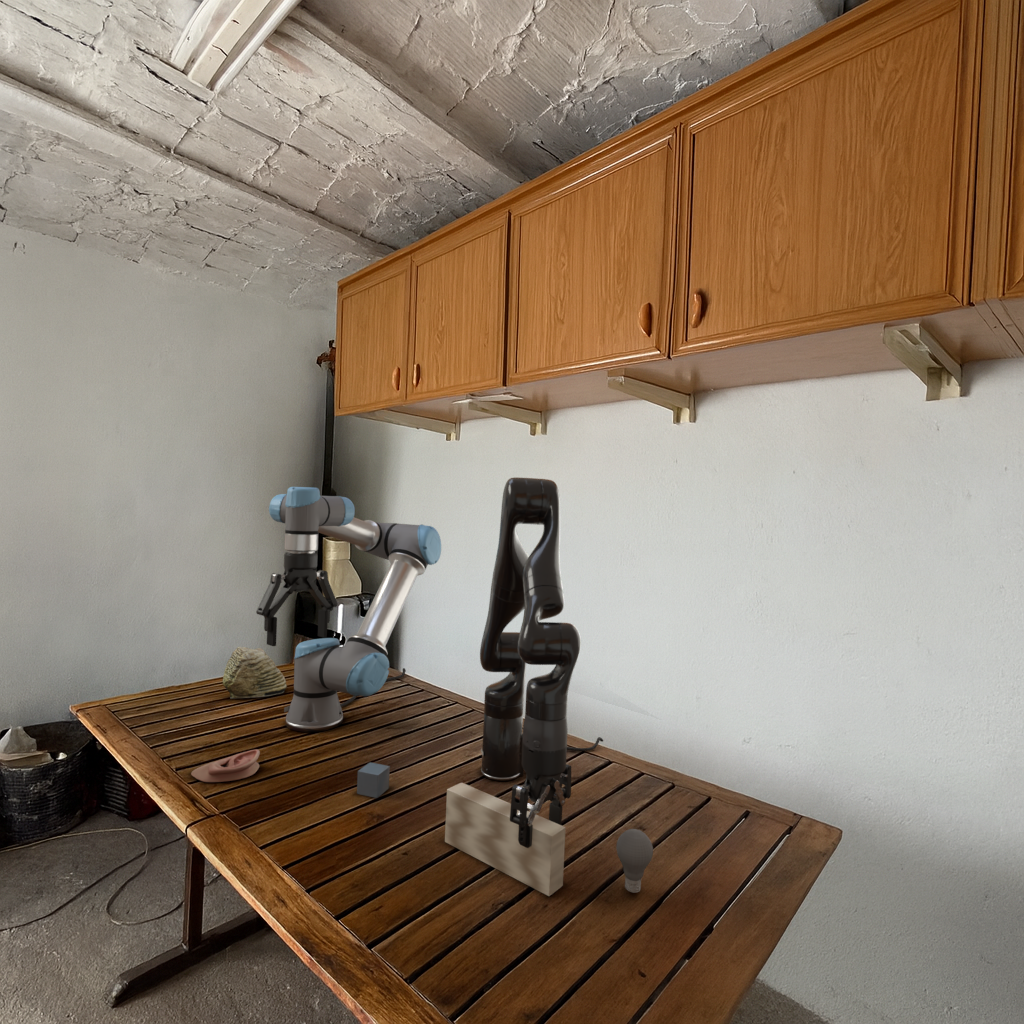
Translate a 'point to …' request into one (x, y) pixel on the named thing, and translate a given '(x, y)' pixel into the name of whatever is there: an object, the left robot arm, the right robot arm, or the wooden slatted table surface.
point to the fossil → (252, 674)
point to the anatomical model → (229, 768)
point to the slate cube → (373, 780)
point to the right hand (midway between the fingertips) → (540, 835)
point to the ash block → (504, 838)
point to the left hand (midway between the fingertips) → (297, 640)
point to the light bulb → (634, 857)
